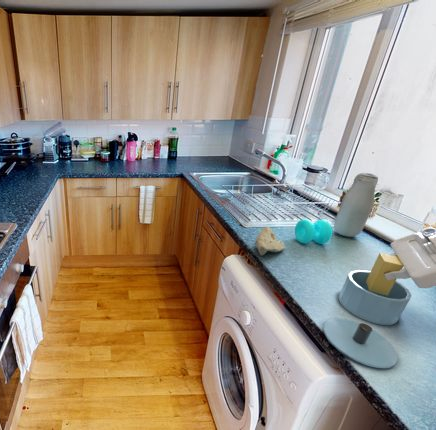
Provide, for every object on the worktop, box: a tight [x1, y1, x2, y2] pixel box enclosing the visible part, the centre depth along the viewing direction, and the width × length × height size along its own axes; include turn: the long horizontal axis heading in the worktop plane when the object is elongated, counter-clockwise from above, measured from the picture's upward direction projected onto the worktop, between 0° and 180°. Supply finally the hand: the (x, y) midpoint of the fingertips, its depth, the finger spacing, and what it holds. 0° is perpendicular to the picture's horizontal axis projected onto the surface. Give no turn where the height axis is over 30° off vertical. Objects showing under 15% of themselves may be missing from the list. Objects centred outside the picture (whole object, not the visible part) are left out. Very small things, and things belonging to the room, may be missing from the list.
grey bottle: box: [333, 172, 379, 238], centre depth 120 cm, size 10×10×28 cm
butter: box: [366, 252, 404, 296], centre depth 79 cm, size 4×5×10 cm
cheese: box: [254, 226, 286, 256], centre depth 111 cm, size 15×7×15 cm
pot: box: [338, 269, 412, 326], centre depth 83 cm, size 14×14×8 cm
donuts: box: [294, 218, 333, 245], centre depth 118 cm, size 10×10×10 cm
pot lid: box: [322, 318, 399, 369], centre depth 71 cm, size 15×15×6 cm
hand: (382, 270), depth 79 cm, fingers closed on butter, 5 cm apart
